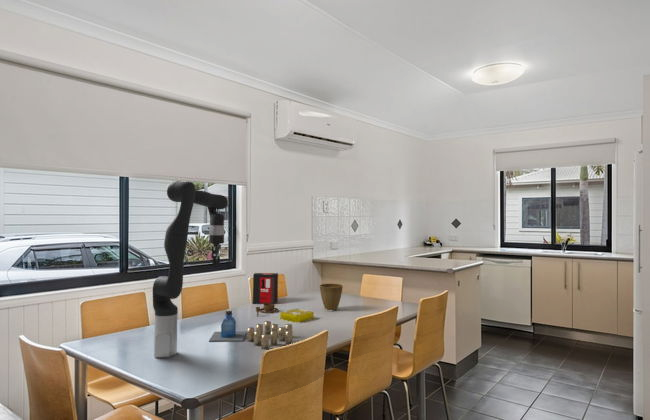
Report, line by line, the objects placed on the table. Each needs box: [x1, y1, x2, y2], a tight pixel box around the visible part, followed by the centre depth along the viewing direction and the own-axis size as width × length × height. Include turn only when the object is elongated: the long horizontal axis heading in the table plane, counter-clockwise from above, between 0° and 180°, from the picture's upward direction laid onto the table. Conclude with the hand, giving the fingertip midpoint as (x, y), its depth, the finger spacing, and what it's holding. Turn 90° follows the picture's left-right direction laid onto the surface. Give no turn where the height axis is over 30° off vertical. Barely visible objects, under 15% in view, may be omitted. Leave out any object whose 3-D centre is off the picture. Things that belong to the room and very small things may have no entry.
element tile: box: [279, 308, 314, 323], centre depth 252 cm, size 15×15×5 cm
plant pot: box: [319, 283, 343, 310], centre depth 278 cm, size 15×15×16 cm
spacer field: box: [246, 320, 293, 350], centre depth 207 cm, size 28×22×6 cm
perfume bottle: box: [220, 310, 237, 338], centre depth 212 cm, size 6×6×12 cm
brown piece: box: [255, 304, 279, 317], centre depth 268 cm, size 18×20×6 cm
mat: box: [208, 330, 247, 343], centre depth 212 cm, size 16×16×1 cm
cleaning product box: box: [252, 272, 279, 305], centre depth 298 cm, size 16×9×20 cm, turn 94°
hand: (216, 265), depth 221 cm, fingers open, 8 cm apart
